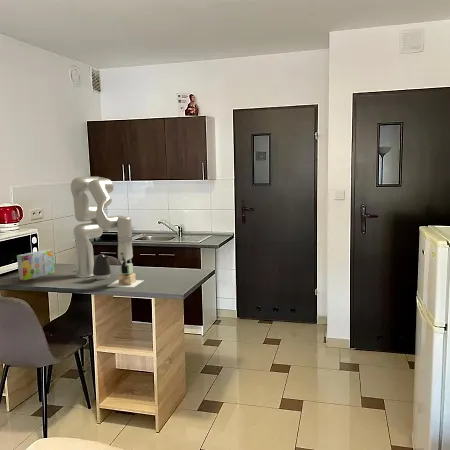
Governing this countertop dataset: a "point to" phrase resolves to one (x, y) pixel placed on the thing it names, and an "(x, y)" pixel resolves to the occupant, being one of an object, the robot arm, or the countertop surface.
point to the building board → (116, 284)
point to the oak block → (127, 279)
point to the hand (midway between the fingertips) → (126, 271)
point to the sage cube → (129, 267)
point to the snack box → (35, 264)
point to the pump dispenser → (101, 267)
